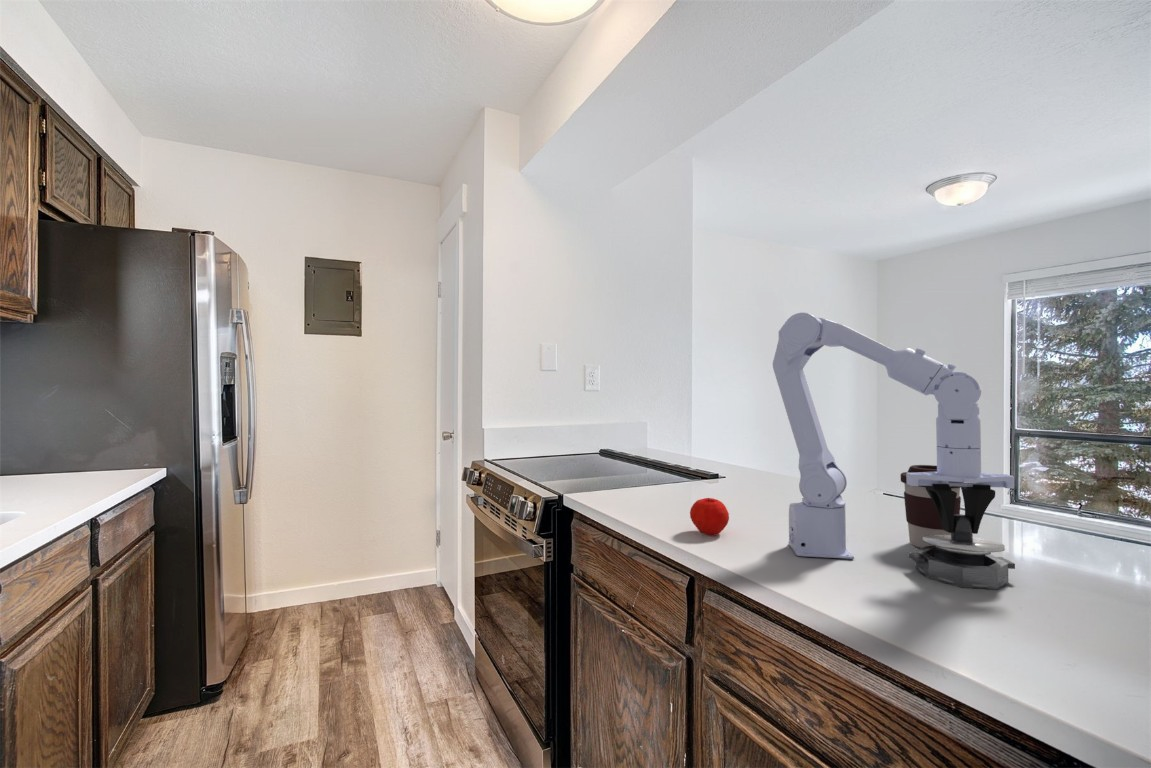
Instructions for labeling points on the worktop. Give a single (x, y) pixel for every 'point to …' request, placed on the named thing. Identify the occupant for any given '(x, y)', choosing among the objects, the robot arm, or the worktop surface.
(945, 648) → the worktop surface
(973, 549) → the lid
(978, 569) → the pot
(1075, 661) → the worktop surface
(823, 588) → the worktop surface
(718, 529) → the apple
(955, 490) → the coffee cup
